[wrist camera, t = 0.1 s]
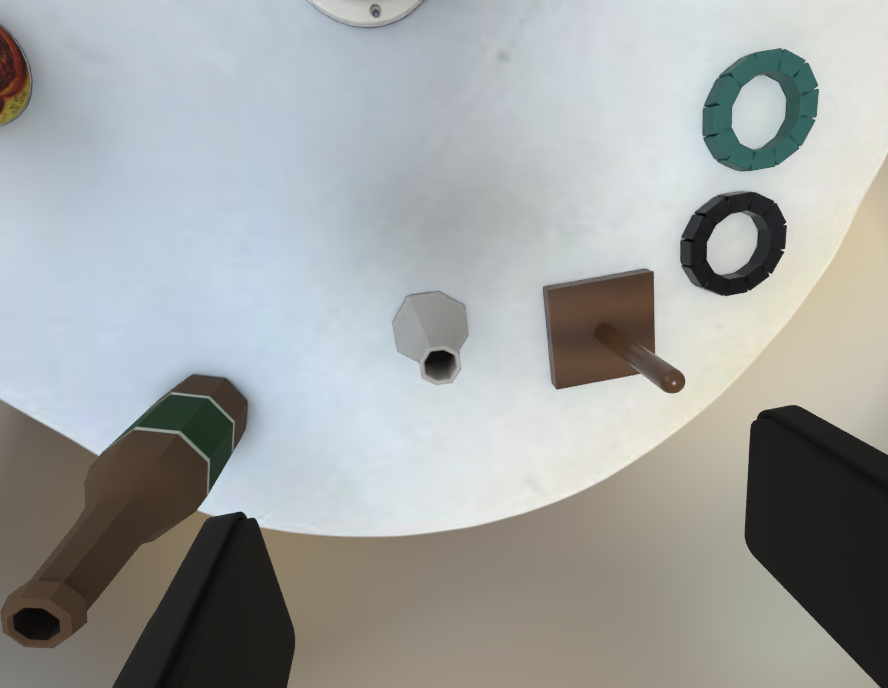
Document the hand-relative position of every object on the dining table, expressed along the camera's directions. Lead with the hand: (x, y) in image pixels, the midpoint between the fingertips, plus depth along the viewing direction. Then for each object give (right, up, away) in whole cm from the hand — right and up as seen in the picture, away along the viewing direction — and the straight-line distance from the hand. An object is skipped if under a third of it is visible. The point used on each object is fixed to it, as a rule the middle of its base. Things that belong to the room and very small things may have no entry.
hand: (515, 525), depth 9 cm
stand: (+14, +5, +39) cm, 41 cm away
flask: (-3, +5, +37) cm, 38 cm away
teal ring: (+26, +23, +34) cm, 49 cm away
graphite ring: (+25, +13, +37) cm, 47 cm away
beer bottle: (-24, -3, +37) cm, 44 cm away
